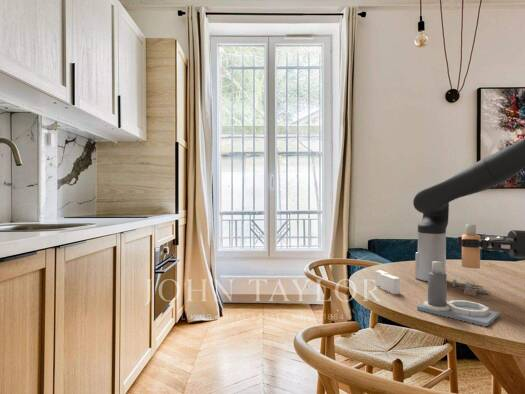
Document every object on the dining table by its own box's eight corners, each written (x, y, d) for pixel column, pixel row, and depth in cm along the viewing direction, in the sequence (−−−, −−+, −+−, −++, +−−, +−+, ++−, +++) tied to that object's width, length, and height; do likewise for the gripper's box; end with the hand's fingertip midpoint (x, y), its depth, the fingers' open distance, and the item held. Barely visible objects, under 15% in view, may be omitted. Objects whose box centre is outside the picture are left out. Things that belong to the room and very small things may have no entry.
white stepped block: (406, 298, 102) (406, 279, 102) (367, 294, 106) (367, 276, 106) (405, 286, 116) (405, 269, 116) (371, 282, 120) (371, 267, 120)
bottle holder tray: (416, 310, 90) (416, 261, 90) (433, 301, 97) (433, 256, 97) (486, 327, 78) (486, 271, 78) (499, 316, 85) (499, 264, 85)
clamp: (487, 291, 101) (449, 286, 107) (487, 298, 101) (449, 293, 107) (486, 281, 114) (452, 277, 119) (486, 287, 114) (452, 283, 119)
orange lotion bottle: (459, 266, 95) (459, 224, 95) (464, 264, 98) (464, 223, 98) (477, 269, 92) (477, 225, 92) (482, 267, 95) (482, 224, 95)
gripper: (520, 228, 97) (454, 226, 103) (544, 233, 84) (466, 231, 89) (520, 254, 97) (453, 250, 103) (544, 263, 84) (466, 259, 89)
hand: (460, 241), depth 96 cm, fingers closed on orange lotion bottle, 4 cm apart
